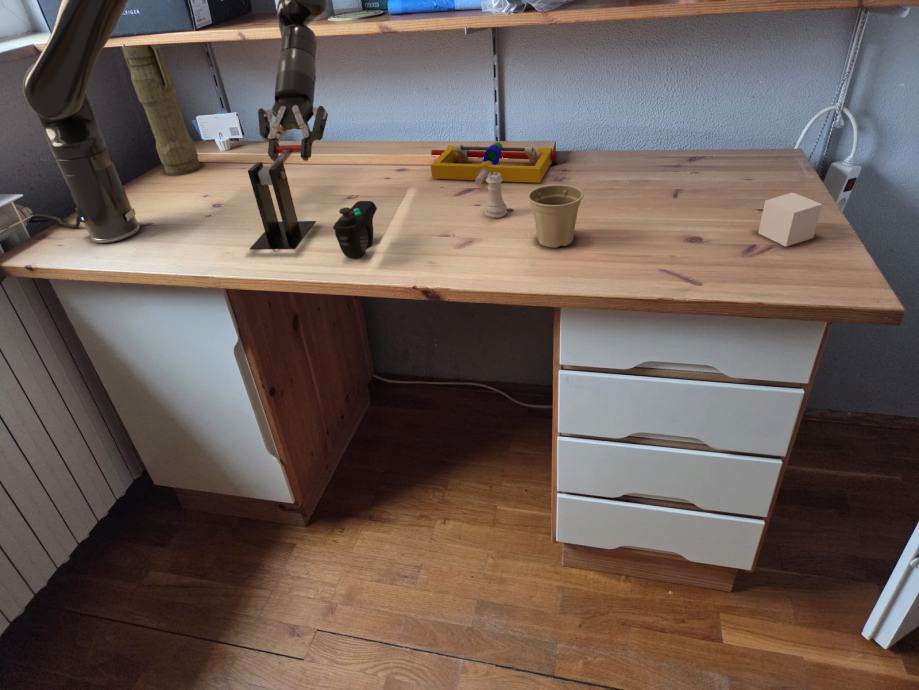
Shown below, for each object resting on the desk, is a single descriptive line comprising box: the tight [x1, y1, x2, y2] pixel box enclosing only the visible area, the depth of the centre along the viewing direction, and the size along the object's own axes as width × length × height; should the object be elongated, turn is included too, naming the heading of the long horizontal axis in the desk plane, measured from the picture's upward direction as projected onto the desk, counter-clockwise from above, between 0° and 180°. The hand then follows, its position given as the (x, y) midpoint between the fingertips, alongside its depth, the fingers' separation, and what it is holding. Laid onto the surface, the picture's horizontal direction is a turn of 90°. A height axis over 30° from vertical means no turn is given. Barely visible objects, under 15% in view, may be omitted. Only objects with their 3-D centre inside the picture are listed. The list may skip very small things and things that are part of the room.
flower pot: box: [527, 184, 585, 249], centre depth 109 cm, size 9×9×9 cm
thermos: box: [120, 43, 201, 176], centre depth 152 cm, size 9×12×35 cm
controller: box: [332, 200, 378, 259], centre depth 111 cm, size 4×12×10 cm, turn 167°
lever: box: [258, 144, 301, 186], centre depth 118 cm, size 14×6×2 cm, turn 172°
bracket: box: [247, 161, 317, 251], centre depth 117 cm, size 12×9×15 cm
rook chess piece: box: [484, 172, 508, 219], centre depth 121 cm, size 4×4×8 cm
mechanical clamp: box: [430, 141, 558, 186], centre depth 139 cm, size 18×6×30 cm
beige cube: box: [757, 192, 823, 248], centre depth 104 cm, size 6×6×6 cm
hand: (289, 159), depth 122 cm, fingers closed on lever, 5 cm apart
